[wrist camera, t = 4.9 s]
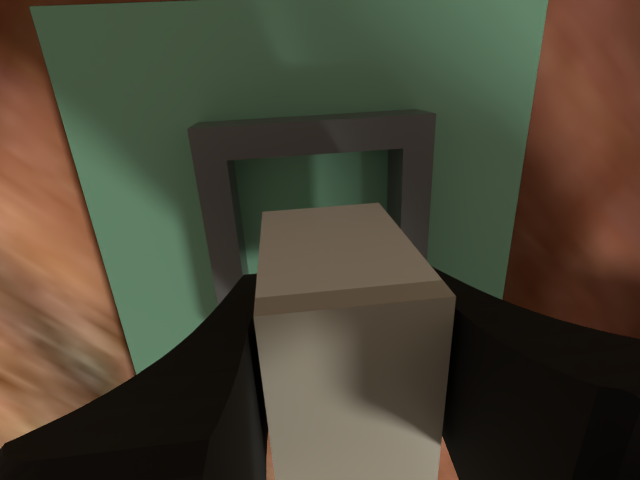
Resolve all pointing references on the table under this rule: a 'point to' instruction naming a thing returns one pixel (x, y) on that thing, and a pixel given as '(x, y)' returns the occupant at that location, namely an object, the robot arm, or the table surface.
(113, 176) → the board
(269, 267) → the plug
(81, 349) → the table surface
